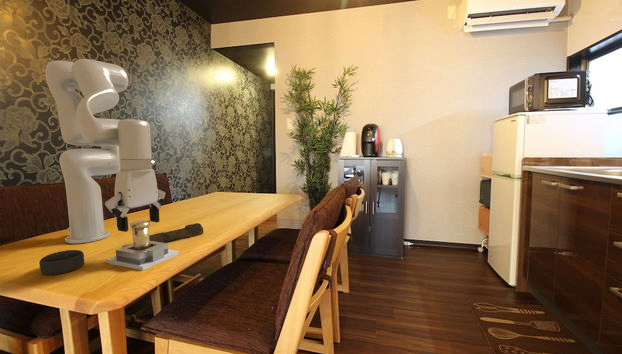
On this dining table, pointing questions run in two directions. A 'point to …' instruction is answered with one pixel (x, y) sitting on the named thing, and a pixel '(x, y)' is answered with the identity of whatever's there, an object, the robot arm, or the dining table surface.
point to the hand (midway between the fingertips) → (139, 226)
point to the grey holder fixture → (142, 253)
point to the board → (146, 265)
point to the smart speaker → (61, 262)
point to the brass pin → (140, 234)
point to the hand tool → (178, 233)
